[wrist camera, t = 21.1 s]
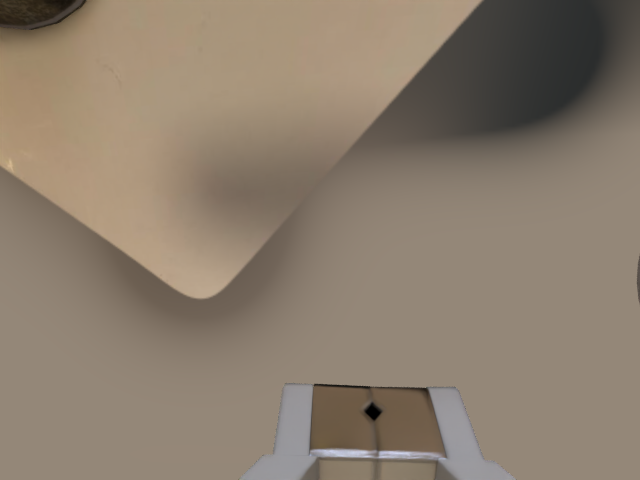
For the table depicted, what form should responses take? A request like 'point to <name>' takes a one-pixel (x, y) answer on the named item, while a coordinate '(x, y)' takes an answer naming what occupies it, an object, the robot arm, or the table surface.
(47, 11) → the lantern
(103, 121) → the table surface
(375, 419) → the robot arm
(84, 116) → the table surface
